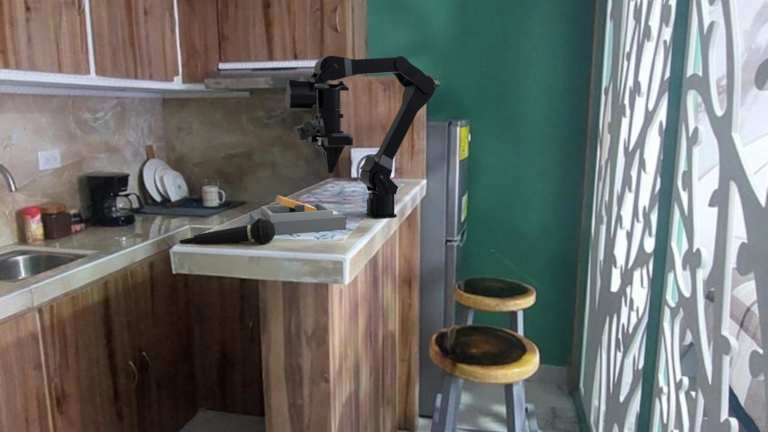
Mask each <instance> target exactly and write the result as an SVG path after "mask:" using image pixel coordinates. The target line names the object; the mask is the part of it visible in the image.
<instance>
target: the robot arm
mask: <svg viewBox="0 0 768 432" xmlns="http://www.w3.org/2000/svg"><path fill="white" fill-rule="evenodd" d="M313 68H314V71H313V73H311V76H310V77H309V78H308V80H306V81H303V80H295V79H288V80H287V81H286V83H287V84H286V90H285V94H284V100H285V101H284V102H285V106H286V109H287V110H312V109H313V106H317V112H316V113H315V115H313V117H314V118H313V119H314V120H307V121H303V122H302V124H300V125H297V126H295V127H294V128H293V129H294V132H295V134H296V137H297V139H298V141H306V140H308V143H317V144H314V147H315V148H317V149H318V150H320V152H321V153H322V157H323V161H324V164H325V165H324V166H325V169H326V172H327V174H333V173H334V171H335V168H336V166H337V163H338V161H339V159H340V157H341V155H342V153H343V151H344V149H345V147H346V146H349V147H350V146H354V137H353V136H352V135H351V134H350V133H345V132H344V130H342V119H344V113H342V111H341V110H342V109H341V107H342V105H341V103H342V102H341V100H342V99H341V95H342V93H341V92H348V91H349V90H350V88H349V87H348V86H347V85H346V84H345V83H344V82H343V80H341V79H345V78H348V77H352V76H359V75H361V76H362V75H377V74H388V73H389V74H390V73H392V74H393V76H395V78H396V80H397V81H398V83H399V84H400V85H401V86H402V87H403V91H402V96H401V97H402V98H401V99H402V100H401V106H400V108H399V110H398V111H397V112H396V115H395V118H394V119H393V121H392V123H391V125H390V127H389V129H388V131H387V133H386V135H385V137H384V138H383V140H382V142H381V145H380V147H379V148H378V150H377V152H376V153H375V154H374V155H366V157H365V160H364V162H363V164H362V165H361V166H360V167H359V170H360V173H359V177H360V180H361V182H362V184H363V185H365V187H366V190H367V192H368V197H367V198H366V215H367V216H369V217H371V218H373V219H383V218H395V217H398V214H396V213H395V207H396V206H395V204H396V203H395V199H396V197H395V195H397V192H398V188H399V187H398V185H397V184H396V183H395V182H394V181H393V180H392V179H391V176H392V174H393V167H394V166H393V165H394V160H395V159H394V158H395V157H396V155H397V153H398V151H399V149H400V147H401V145H402V143H403V141H404V139H405V138H406V135H407V133H408V132H409V129H410V128H411V126H412V124H413V122H414V120H415V118H416V116H417V114H418V112H419V111H420V110H421V109H422V108H423V107H424V106H425V105H427V103H428V102H429V101H430V99H432V97H433V95H434V94H435V92H436V90H437V85H436V83H435V80H434V78H433V77H432V76H430V75H426V73H424V71H423V70H421V69H420V68H418V67H417V66H415V65H414V64H413V63H412V62H410V61H409V60H408V58H406V57H405V56H402V55H398V56H393V57H377V58H358V59H356V58H355V59H354V58H348V57H345V56H338V55H327V56H324V57H322V58H319V59H318V60H317V61H316V62H315V64H314V67H313ZM336 80H339V81H337V83H328V82H332V81H336ZM325 83H326V84H325ZM324 84H325V85H324ZM319 85H324V87H315V86H319ZM316 104H317V105H316Z"/></svg>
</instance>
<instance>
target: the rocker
mask: <svg viewBox="0 0 768 432" xmlns="http://www.w3.org/2000/svg"><path fill="white" fill-rule="evenodd" d="M275 202H276V203H278V205H285V206H288V207H291V208H294V209H295V205H304V211H305V212H308V211H317V209H316V208H314V207H313V206H311V205H308V204H306V203H304V202H300V201H298V200H297V201H294V199H290V198H287V197H285V196H282V195H277V194H276V198H275Z"/></svg>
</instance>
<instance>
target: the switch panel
mask: <svg viewBox="0 0 768 432" xmlns="http://www.w3.org/2000/svg"><path fill="white" fill-rule="evenodd" d="M293 200H294V199H293ZM294 201H298V200H296V199H295V200H294ZM305 204H308V205H311V206H313V207H314V208H316V209H317V211H308V212H305V211H304V205H295V209H294V208H291V207H288V206H285V205H281V204H278V205H261V207H260V208H261V210H260V211H251V212H250V211H249V212H248V213H249V225H250V226H252V224H253V223H254V222H255V221H256V220H257V219H258V218H262V219H267V220H270V221H271V222H272V223H273V224H274V226H275V236H281V235H282V236H283V235H293V234H295V235H296V234H306V233H307V234H308V233H316V232H317V233H318V232H330V231H344V230H347V218H346V216H345V215H344V214H342V213H340V212H338V211H336V210H335V209H333V208H332V207H329V206H326V205H324V204H323V203H320V202H312V203H311V202H309V203H308V202H307V203H305Z"/></svg>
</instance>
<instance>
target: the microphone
mask: <svg viewBox="0 0 768 432" xmlns="http://www.w3.org/2000/svg"><path fill="white" fill-rule="evenodd" d="M275 237H276V235H275V226H274V224H273V223H272V222H271V221H270V220H267V219H262V218H258V219H257V220H256V221H255V222H254V223H253V224H252V226H251V225H250V224H246V225H239V226H234V227H230V228H224V229H218V230H213V231H207V232H202V233H198V234H195V235H193V236H192V237H187V238H184V239H181V240H179V242H178V243H179V244H194V245H215V244H219V245H220V244H230V243H232V244H238V243H243V242H251V241H252V240H253V242H255V243H257V244H259V245H265V244H267V243H269V242H270V243H271V241H273V239H274V238H275Z"/></svg>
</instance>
